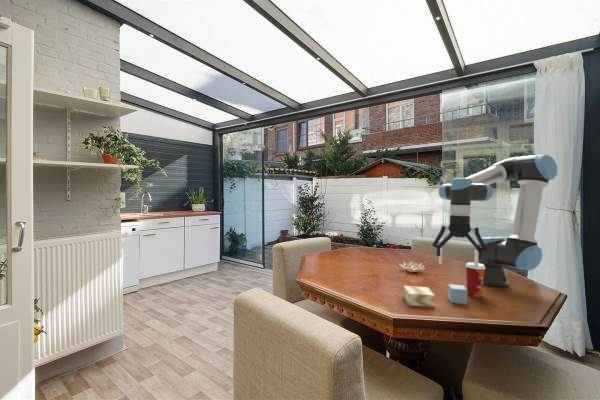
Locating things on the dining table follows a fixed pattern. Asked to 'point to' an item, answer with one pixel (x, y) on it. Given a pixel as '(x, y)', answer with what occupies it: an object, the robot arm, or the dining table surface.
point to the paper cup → (475, 279)
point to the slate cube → (457, 294)
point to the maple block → (419, 296)
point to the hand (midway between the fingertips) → (457, 265)
